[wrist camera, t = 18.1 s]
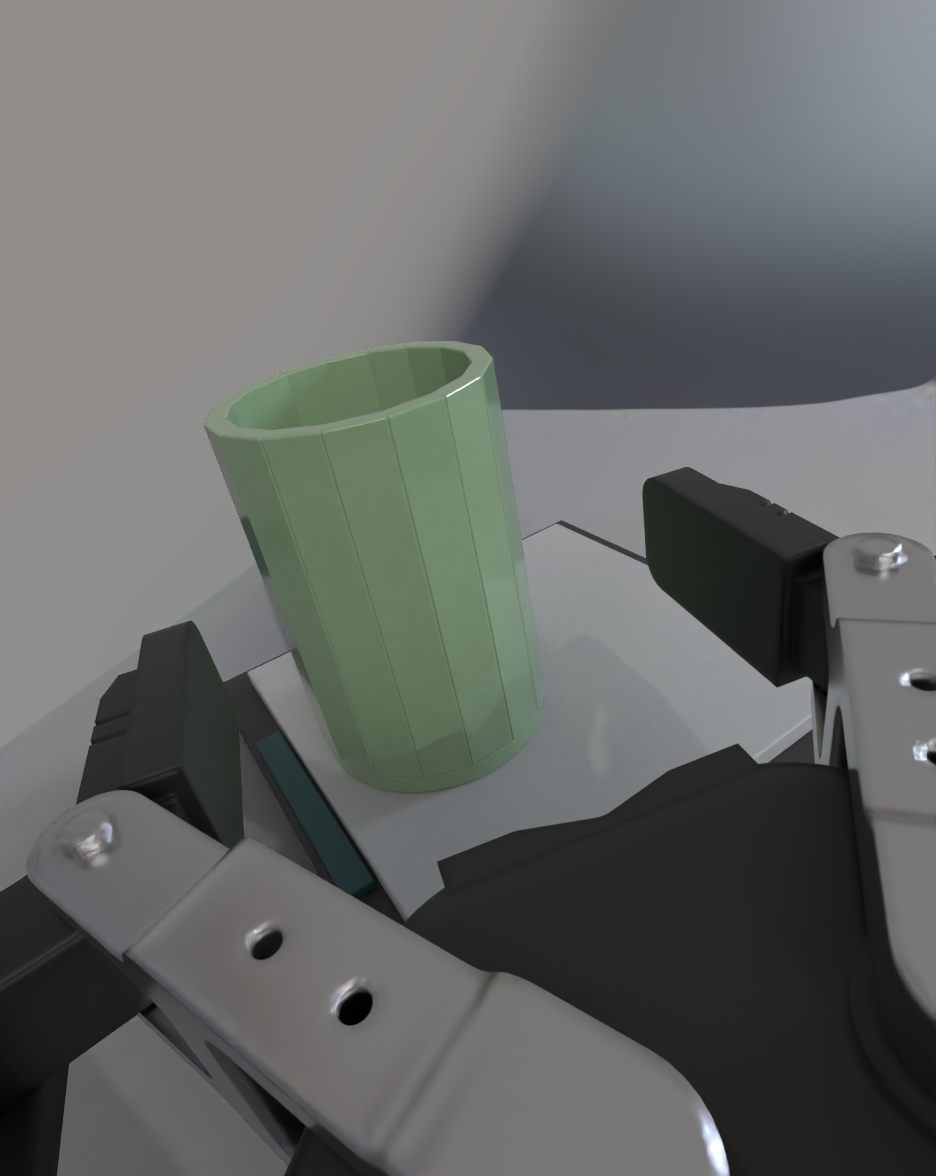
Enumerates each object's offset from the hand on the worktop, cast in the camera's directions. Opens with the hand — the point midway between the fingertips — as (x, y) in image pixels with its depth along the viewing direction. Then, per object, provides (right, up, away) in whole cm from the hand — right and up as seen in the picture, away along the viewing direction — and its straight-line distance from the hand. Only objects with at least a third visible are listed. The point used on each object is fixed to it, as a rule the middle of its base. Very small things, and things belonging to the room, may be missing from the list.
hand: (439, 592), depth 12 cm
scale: (+3, -5, +12) cm, 13 cm away
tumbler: (-1, -4, +9) cm, 10 cm away
